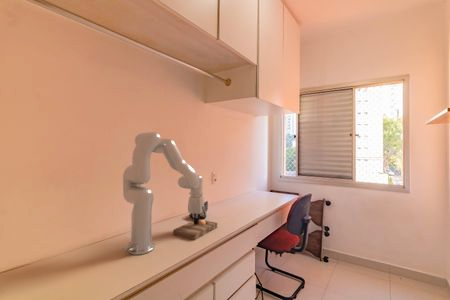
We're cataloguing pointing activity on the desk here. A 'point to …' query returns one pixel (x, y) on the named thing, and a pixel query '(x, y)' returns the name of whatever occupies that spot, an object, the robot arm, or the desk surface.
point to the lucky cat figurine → (204, 210)
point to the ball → (202, 222)
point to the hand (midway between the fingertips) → (196, 223)
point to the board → (194, 230)
